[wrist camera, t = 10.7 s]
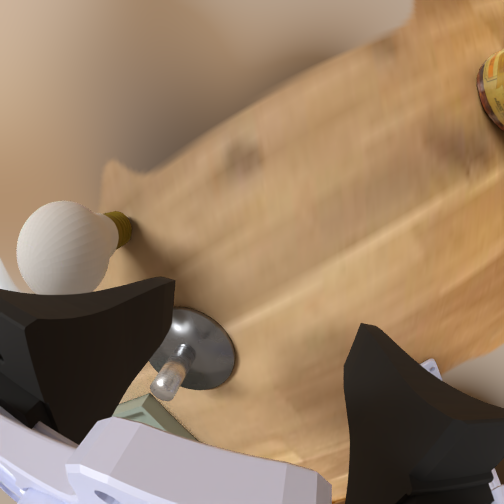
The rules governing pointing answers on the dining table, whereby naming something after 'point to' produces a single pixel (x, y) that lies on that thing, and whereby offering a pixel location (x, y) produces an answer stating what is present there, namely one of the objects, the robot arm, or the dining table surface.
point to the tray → (151, 415)
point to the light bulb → (69, 247)
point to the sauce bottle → (493, 87)
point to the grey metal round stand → (191, 355)
